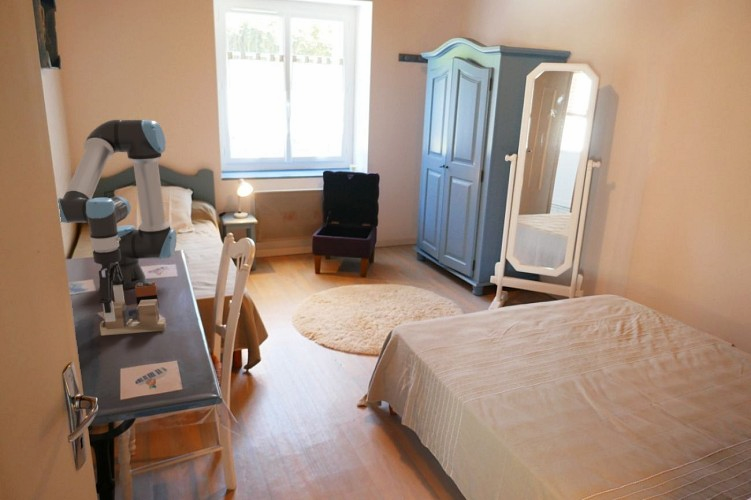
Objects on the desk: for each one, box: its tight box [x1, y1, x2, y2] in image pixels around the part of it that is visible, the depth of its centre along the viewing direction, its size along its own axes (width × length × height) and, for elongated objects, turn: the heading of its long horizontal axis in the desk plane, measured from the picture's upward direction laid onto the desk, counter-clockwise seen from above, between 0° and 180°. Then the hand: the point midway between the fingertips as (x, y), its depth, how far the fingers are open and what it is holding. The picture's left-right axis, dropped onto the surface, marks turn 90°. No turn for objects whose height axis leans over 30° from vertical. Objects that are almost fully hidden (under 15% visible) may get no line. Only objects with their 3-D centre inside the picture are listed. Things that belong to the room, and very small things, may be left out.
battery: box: [134, 280, 160, 308], centre depth 184 cm, size 4×7×10 cm, turn 110°
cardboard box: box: [105, 301, 130, 329], centre depth 165 cm, size 5×6×7 cm
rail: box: [99, 299, 167, 336], centre depth 167 cm, size 5×19×10 cm, turn 104°
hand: (115, 312), depth 165 cm, fingers open, 13 cm apart
